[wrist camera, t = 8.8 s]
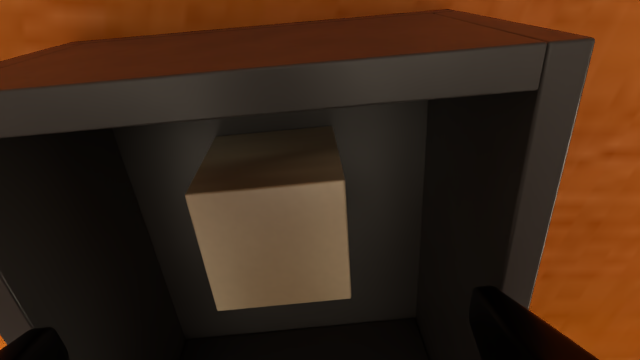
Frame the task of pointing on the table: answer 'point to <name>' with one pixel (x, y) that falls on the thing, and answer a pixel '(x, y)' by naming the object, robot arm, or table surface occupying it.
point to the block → (272, 218)
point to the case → (276, 115)
